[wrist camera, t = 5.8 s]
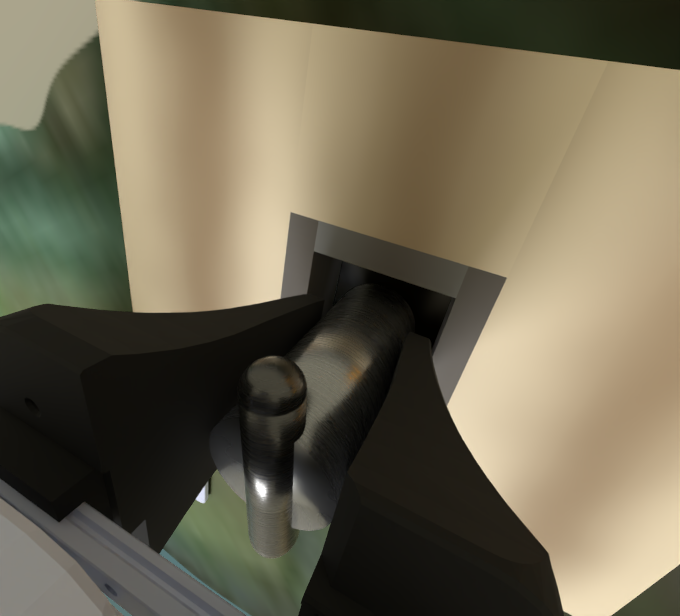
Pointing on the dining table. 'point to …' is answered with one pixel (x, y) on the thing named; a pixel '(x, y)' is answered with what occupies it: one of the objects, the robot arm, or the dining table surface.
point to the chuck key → (310, 416)
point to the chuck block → (436, 239)
